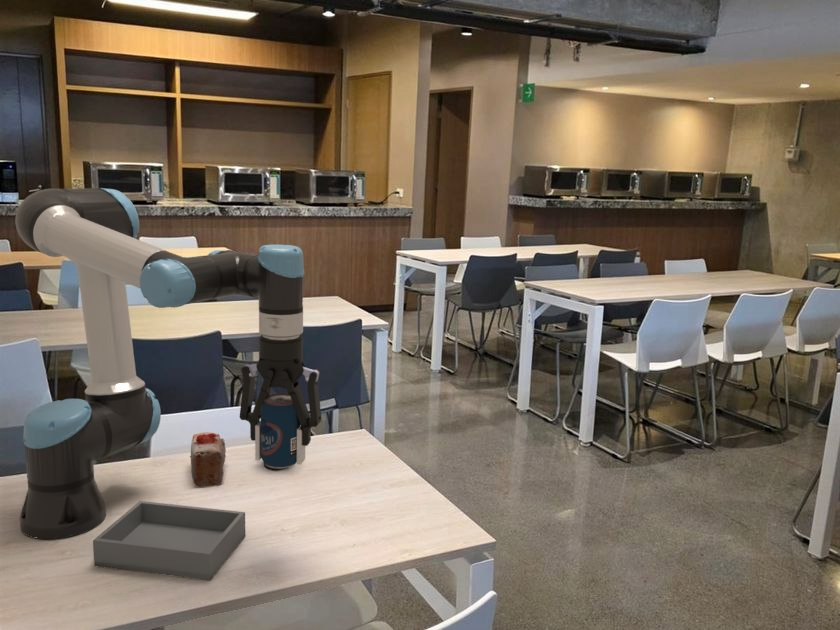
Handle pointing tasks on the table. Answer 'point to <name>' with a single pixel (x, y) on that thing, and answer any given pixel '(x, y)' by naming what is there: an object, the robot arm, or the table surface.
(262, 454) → the soda can
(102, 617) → the table surface
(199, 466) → the food item
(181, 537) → the bin
